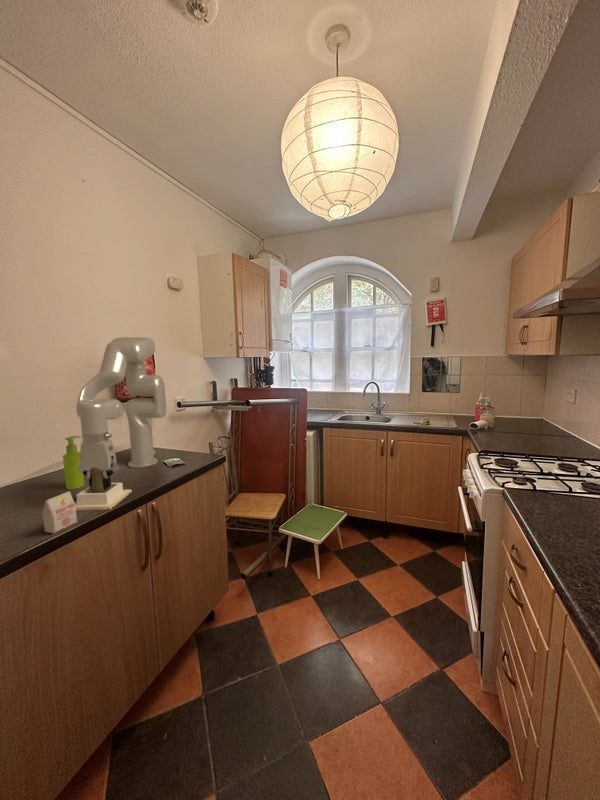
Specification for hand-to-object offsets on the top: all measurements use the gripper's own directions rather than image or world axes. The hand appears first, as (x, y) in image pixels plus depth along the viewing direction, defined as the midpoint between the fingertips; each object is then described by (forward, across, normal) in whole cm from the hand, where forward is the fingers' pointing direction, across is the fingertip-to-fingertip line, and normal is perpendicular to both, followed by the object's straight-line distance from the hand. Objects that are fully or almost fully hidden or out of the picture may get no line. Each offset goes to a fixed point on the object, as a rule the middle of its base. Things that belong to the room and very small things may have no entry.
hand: (100, 487), depth 110 cm
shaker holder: (+5, 0, 0) cm, 5 cm away
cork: (+2, 0, 0) cm, 2 cm away
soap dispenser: (+5, +18, -14) cm, 23 cm away
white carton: (+5, +1, +18) cm, 19 cm away
